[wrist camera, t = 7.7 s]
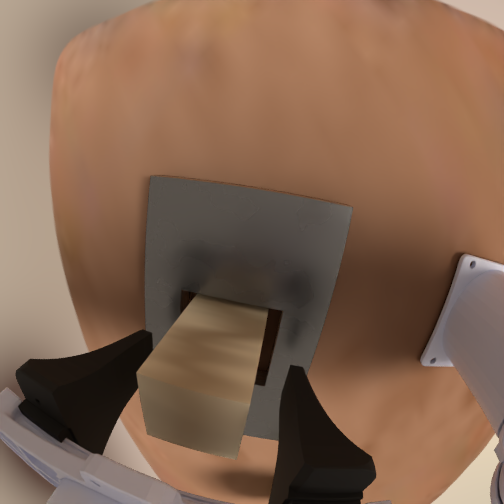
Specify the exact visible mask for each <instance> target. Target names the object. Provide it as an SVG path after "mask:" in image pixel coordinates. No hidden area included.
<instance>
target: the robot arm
mask: <svg viewBox="0 0 504 504" xmlns="http://www.w3.org/2000/svg"><path fill="white" fill-rule="evenodd" d="M471 262H472V265H471V266H470V263H471ZM152 351H153V337H152V332H149V331H145V330H140V331H138V332H136V333H134V334H131V335H129V336H127V337H125V338H123V339H121V340H119V341H117V342H115V343H112V344H110V345H108V346H105V347H103V348H100V349H98V350H95V351H92V352H89V353H85V354H81V355H77V356H72V357H67V358H59V359H29V360H28V361H27V362H26V363H25V364H23V365H22V366H21V367H20V368H19V369H17V370H16V379H17V381H18V384H19V385H20V388H21V390H22V392H23V394H24V396H25V398H26V399H25V400H24V401H23V402H22V400H21V399H20V398H19V397H18V396H17V395H16V394H15V393H14V392H12V391H11V390H10V389H9V388H7V387H6V388H5V389H4V390H3V391H2V392H1V393H0V438H1V440H2V441H4V442H5V444H6V445H8V446H9V447H10V448H11V449H12V450H13V451H14V452H15V453H16V454H17V455H18V456H19V457H20V458H21V459H23V460H24V461H25V462H26V463H27V464H28V465H29V466H30V467H32V468H33V469H34V470H35V471H36V472H38V473H39V474H40V475H41V476H42V477H44V478H45V479H46V480H47V481H49V482H50V483H51V484H53V485H54V486H55V487H57V488H56V490H55V491H54V492H53V494H52V495H51V497H50V498H49V500H48V501H47V503H46V504H233V503H228V502H223V501H218V500H214V499H210V498H206V497H202V496H198V495H194V494H191V493H187V492H184V491H180V490H177V489H175V488H173V487H172V486H170V485H169V484H167V483H165V482H162V481H160V480H158V479H156V478H153V477H150V476H148V475H145V474H143V473H140V472H138V471H135V470H133V469H130V468H128V467H126V466H124V465H122V464H120V463H117V462H115V461H113V460H111V459H109V458H107V457H105V456H102V454H103V452H104V449H105V446H106V444H107V441H108V439H109V437H110V435H111V432H112V430H113V428H114V426H115V424H116V422H117V420H118V418H119V416H120V414H121V413H122V411H123V409H124V407H125V406H126V404H127V403H128V401H129V400H130V399H131V397H132V396H133V394H134V393H135V392H136V390H137V389H138V381H137V374H136V372H137V371H138V370H139V368H140V367H141V366H142V364H143V363H144V362H145V360H146V359H147V358H148V357H149V355H150V354H151V353H152ZM433 358H434V359H433ZM432 359H433V360H432ZM420 362H421V364H422V365H423V366H454V367H455V368H456V369H457V371H458V372H459V374H460V375H461V377H462V378H463V380H464V381H465V383H466V384H467V386H468V388H469V389H470V391H471V392H472V394H473V395H474V397H475V399H476V400H477V402H478V403H479V405H480V407H481V408H482V410H483V412H484V413H485V415H486V417H487V419H488V420H489V422H490V424H491V426H492V427H493V429H494V431H495V433H496V435H497V436H498V438H499V443H498V445H497V446H496V448H495V449H494V451H495V453H496V455H497V457H498V459H499V461H500V462H499V463H498V465H497V467H496V469H495V472H494V474H493V477H492V481H491V488H490V497H491V504H504V265H503V264H500V263H497V262H493V261H490V260H487V259H483V258H480V257H476V256H473V255H469V254H464V255H462V256H461V258H460V260H459V263H458V267H457V270H456V273H455V276H454V279H453V282H452V285H451V288H450V291H449V294H448V297H447V299H446V302H445V305H444V307H443V310H442V312H441V315H440V317H439V319H438V322H437V324H436V327H435V329H434V331H433V333H432V336H431V338H430V340H429V342H428V344H427V346H426V348H425V350H424V352H423V354H422V356H421V359H420ZM375 478H376V470H375V465H374V462H373V459H372V456H370V455H369V454H367V453H366V452H364V451H363V450H361V449H360V448H359V447H357V446H356V445H355V444H354V443H353V442H351V441H350V440H349V439H348V438H347V437H346V436H345V435H344V434H343V433H342V432H341V431H340V430H339V429H338V428H337V427H336V425H335V424H334V423H333V422H332V420H331V419H330V418H329V416H328V415H327V414H326V412H325V411H324V409H323V407H322V406H321V404H320V403H319V401H318V399H317V397H316V395H315V393H314V391H313V389H312V387H311V385H310V383H309V381H308V378H307V376H306V373H305V370H304V368H303V367H302V366H295V365H290V368H289V371H288V374H287V377H286V380H285V384H284V387H283V390H282V393H281V400H280V407H279V445H278V455H277V461H276V468H275V474H274V479H273V485H272V490H271V495H270V499H269V504H361V502H360V500H361V499H363V490H364V489H365V488H367V487H368V486H369V485H370V484H371V483H372V482H373V481H374V479H375ZM366 504H391V501H390V500H386V501H379V502H371V503H366Z"/></svg>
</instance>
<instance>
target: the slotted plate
mask: <svg viewBox="0 0 504 504" xmlns="http://www.w3.org/2000/svg"><path fill="white" fill-rule="evenodd" d="M352 211H353V207H351V206H349V205H347V204H342V203H338V202H333V201H328V200H323V199H318V198H313V197H308V196H303V195H297V194H292V193H286V192H281V191H275V190H269V189H263V188H257V187H251V186H244V185H237V184H230V183H223V182H216V181H208V180H200V179H192V178H183V177H174V176H164V175H160V176H151V178H150V188H149V199H148V211H147V226H146V246H145V324H146V331H149V332H152V337H153V350H154V349H155V347H156V346H157V345H158V343H159V342H160V341H161V340H162V338H163V337H164V336H165V334H166V333H167V332H168V330H169V329H170V328H171V327H172V325H173V324H174V323H175V321H176V320H177V319H178V318H179V316H180V315H181V314H182V312H183V311H184V310H185V309H186V307H187V306H188V305H189V293H190V292H194V293H199V294H203V295H207V296H212V297H217V298H221V299H226V300H231V301H236V302H240V303H245V304H250V305H256V306H261V307H266V308H271V309H277V310H282V311H281V316H280V320H279V324H278V329H277V333H276V337H275V341H274V346H273V350H272V354H271V358H270V362H269V366H268V370H267V372H266V371H261V370H257V373H256V378H255V383H254V388H253V393H252V398H251V402H250V407H249V411H248V415H247V420H246V424H245V428H244V432H243V435H247V436H252V437H258V438H264V439H271V440H278V441H279V407H280V400H281V393H282V390H283V387H284V384H285V380H286V377H287V374H288V371H289V368H290V365H295V366H302V367H303V368H304V370H305V373H306V376H307V373H308V370H309V368H310V365H311V362H312V359H313V356H314V353H315V350H316V347H317V344H318V341H319V338H320V335H321V332H322V328H323V325H324V322H325V319H326V315H327V312H328V309H329V305H330V302H331V298H332V295H333V291H334V287H335V284H336V280H337V276H338V272H339V268H340V264H341V260H342V256H343V252H344V248H345V244H346V239H347V235H348V230H349V226H350V221H351V216H352Z"/></svg>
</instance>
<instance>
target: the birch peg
mask: <svg viewBox="0 0 504 504" xmlns="http://www.w3.org/2000/svg"><path fill="white" fill-rule="evenodd" d="M268 310H269V308H266V307H261V306H256V305H250V304H245V303H240V302H236V301H231V300H226V299H221V298H217V297H212V296H207V295H203V294H199V293H197V295H196V296H195V297H194V298H193V300H192V301H191V302H190V303H189V305H188V306H187V307H186V309H185V310H184V311H183V312H182V314H181V315H180V316H179V318H178V319H177V320H176V321H175V323H174V324H173V325H172V327H171V328H170V329H169V330H168V332H167V333H166V334H165V336H164V337H163V338H162V340H161V341H160V342H159V343H158V345H157V346H156V347H155V349H154V350H153V351H152V353H151V354H150V355H149V357H148V358H147V359H146V360H145V362H144V363H143V364H142V366H141V367H140V368H139V370H138V371H137V372H136V374H137V381H138V388H139V394H140V400H141V406H142V411H143V416H144V421H145V426H146V431H147V434H148V435H151V436H153V437H156V438H159V439H162V440H165V441H168V442H171V443H174V444H177V445H180V446H183V447H187V448H190V449H194V450H197V451H201V452H205V453H209V454H213V455H217V456H221V457H226V458H230V459H235V460H237V456H238V452H239V448H240V444H241V440H242V436H243V432H244V428H245V424H246V420H247V415H248V411H249V407H250V402H251V398H252V393H253V388H254V383H255V378H256V373H257V368H258V363H259V358H260V353H261V348H262V342H263V337H264V332H265V326H266V321H267V316H268Z"/></svg>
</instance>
